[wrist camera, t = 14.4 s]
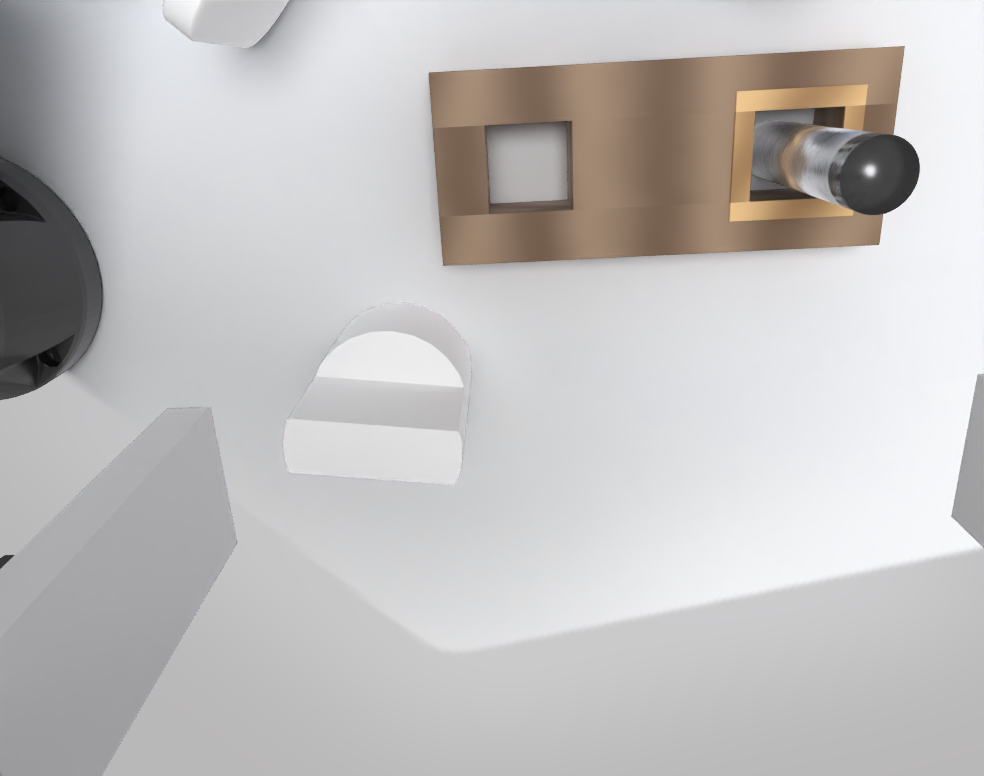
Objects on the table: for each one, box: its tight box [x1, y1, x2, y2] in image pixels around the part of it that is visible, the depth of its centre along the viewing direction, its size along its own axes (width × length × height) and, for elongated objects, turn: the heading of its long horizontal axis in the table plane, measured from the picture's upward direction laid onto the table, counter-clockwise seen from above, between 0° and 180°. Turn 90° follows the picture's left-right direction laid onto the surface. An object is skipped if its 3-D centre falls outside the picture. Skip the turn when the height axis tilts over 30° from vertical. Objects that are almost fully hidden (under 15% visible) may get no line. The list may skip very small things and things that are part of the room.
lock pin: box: [751, 120, 920, 215], centre depth 38 cm, size 3×3×14 cm
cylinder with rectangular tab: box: [283, 303, 472, 485], centre depth 44 cm, size 9×9×12 cm
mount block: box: [429, 46, 905, 266], centre depth 43 cm, size 24×10×4 cm, turn 93°
